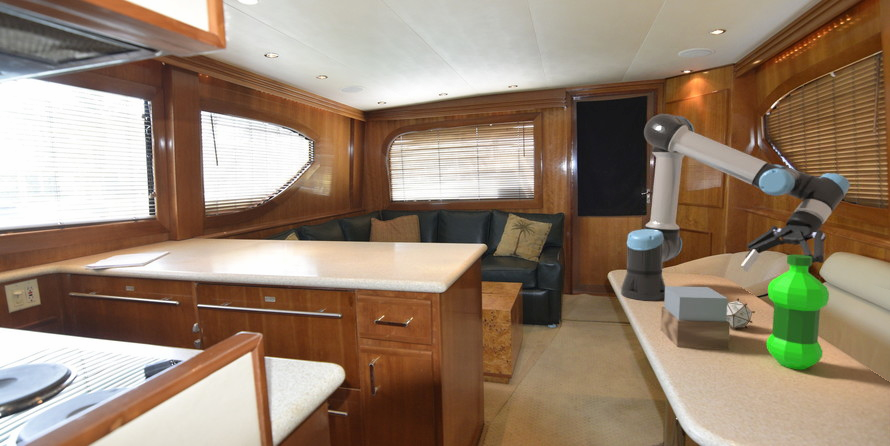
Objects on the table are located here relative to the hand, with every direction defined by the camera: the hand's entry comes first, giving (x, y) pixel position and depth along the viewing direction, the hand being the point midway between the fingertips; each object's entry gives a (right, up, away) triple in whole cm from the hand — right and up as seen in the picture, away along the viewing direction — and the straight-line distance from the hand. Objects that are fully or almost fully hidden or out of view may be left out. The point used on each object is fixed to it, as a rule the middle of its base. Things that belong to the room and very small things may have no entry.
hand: (766, 273), depth 123 cm
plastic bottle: (-13, -18, -25) cm, 34 cm away
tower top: (-26, -10, -10) cm, 30 cm away
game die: (-10, -15, -1) cm, 18 cm away
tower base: (-26, -17, -9) cm, 32 cm away
